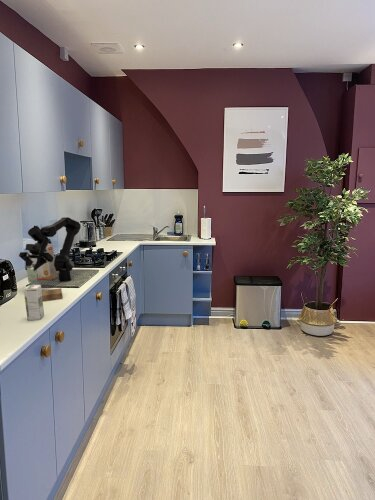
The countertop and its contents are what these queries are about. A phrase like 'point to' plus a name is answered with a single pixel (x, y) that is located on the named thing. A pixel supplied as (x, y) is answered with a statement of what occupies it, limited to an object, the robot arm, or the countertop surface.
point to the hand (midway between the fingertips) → (30, 270)
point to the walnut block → (52, 294)
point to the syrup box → (34, 302)
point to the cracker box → (46, 267)
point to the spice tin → (32, 273)
